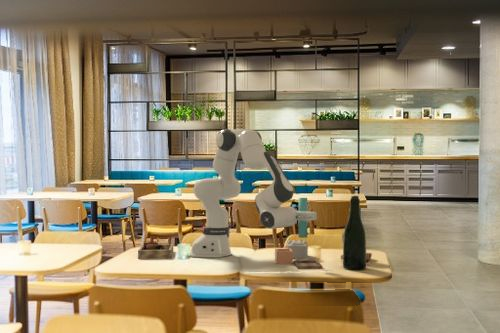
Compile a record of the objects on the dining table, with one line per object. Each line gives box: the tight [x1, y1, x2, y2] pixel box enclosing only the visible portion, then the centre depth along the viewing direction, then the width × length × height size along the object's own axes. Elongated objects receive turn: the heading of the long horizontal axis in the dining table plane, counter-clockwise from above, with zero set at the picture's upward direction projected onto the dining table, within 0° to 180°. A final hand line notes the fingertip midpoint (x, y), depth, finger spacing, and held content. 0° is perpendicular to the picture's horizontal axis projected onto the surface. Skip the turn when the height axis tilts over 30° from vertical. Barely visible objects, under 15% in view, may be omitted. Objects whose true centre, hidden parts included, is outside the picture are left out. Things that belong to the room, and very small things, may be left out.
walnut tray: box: [293, 259, 323, 270], centre depth 283 cm, size 11×14×2 cm
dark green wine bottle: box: [342, 195, 367, 271], centre depth 281 cm, size 10×10×33 cm
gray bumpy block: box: [285, 239, 309, 260], centre depth 307 cm, size 10×13×9 cm
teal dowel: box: [298, 197, 308, 239], centre depth 284 cm, size 4×4×18 cm
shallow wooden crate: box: [137, 243, 174, 260], centre depth 314 cm, size 16×18×4 cm
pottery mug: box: [142, 241, 164, 250], centre depth 312 cm, size 12×10×8 cm
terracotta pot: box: [274, 248, 294, 265], centre depth 292 cm, size 8×8×6 cm
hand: (304, 213), depth 285 cm, fingers closed on teal dowel, 4 cm apart
